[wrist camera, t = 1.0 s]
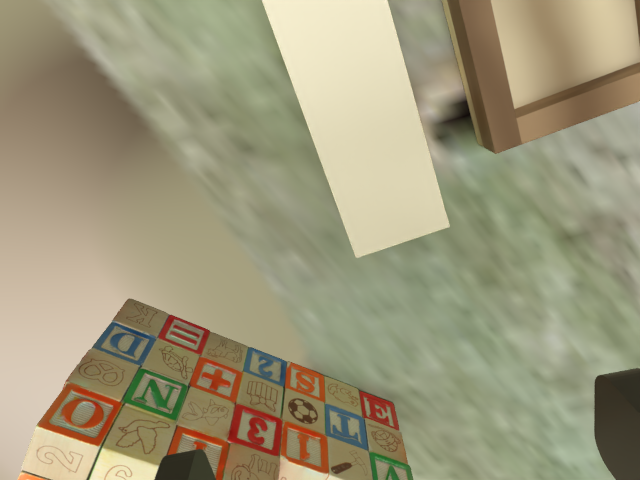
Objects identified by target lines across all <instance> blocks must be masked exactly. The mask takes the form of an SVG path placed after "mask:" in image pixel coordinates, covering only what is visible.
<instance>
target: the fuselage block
mask: <svg viewBox="0 0 640 480" xmlns="http://www.w3.org/2000/svg"><path fill="white" fill-rule="evenodd" d="M262 2H263V5H264V7H265V10H266V13H267V16H268V18H269V21H270V24H271V26H272V29H273V32H274V35H275V37H276V40H277V43H278V46H279V48H280V51H281V54H282V57H283V59H284V62H285V65H286V68H287V70H288V73H289V76H290V79H291V81H292V84H293V87H294V89H295V92H296V95H297V98H298V100H299V103H300V106H301V109H302V111H303V114H304V117H305V120H306V122H307V125H308V128H309V131H310V133H311V136H312V139H313V141H314V144H315V147H316V150H317V152H318V155H319V158H320V161H321V163H322V166H323V169H324V172H325V174H326V177H327V180H328V183H329V185H330V188H331V191H332V194H333V196H334V199H335V202H336V204H337V207H338V210H339V213H340V215H341V218H342V221H343V224H344V226H345V229H346V232H347V235H348V237H349V240H350V243H351V246H352V248H353V251H354V254H355V256H356V258H358V257H361V256H364V255H367V254H370V253H373V252H376V251H379V250H382V249H385V248H388V247H391V246H394V245H397V244H400V243H403V242H406V241H409V240H412V239H415V238H418V237H421V236H424V235H427V234H430V233H433V232H436V231H439V230H442V229H445V228H448V227H450V226H449V222H448V218H447V215H446V211H445V207H444V204H443V200H442V196H441V193H440V189H439V186H438V182H437V178H436V175H435V171H434V167H433V164H432V160H431V156H430V153H429V149H428V146H427V142H426V138H425V135H424V131H423V127H422V124H421V120H420V117H419V113H418V109H417V106H416V102H415V98H414V95H413V91H412V87H411V84H410V80H409V77H408V73H407V69H406V66H405V62H404V58H403V55H402V51H401V48H400V44H399V40H398V37H397V33H396V29H395V26H394V22H393V18H392V15H391V11H390V8H389V4H388V0H262Z"/></svg>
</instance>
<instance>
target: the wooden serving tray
mask: <svg viewBox="0 0 640 480" xmlns="http://www.w3.org/2000/svg"><path fill="white" fill-rule="evenodd" d="M442 3H443V7H444V11H445V15H446V19H447V23H448V27H449V31H450V35H451V39H452V43H453V47H454V51H455V55H456V59H457V63H458V67H459V71H460V74H461V78H462V82H463V86H464V90H465V94H466V98H467V102H468V106H469V110H470V114H471V118H472V122H473V126H474V130H475V134H476V138H477V142H478V144H479V145H481V146H483V147H485V148H486V149H488V150H490V151H492V152H493V153H495V154H497V153H499V152H502V151H505V150H507V149H510V148H513V147H516V146H518V145H521V144H524V143H527V142H529V141H532V140H535V139H537V138H540V137H543V136H546V135H548V134H551V133H554V132H557V131H559V130H562V129H565V128H568V127H570V126H573V125H576V124H578V123H581V122H584V121H587V120H589V119H592V118H595V117H598V116H600V115H603V114H606V113H608V112H611V111H614V110H617V109H619V108H622V107H625V106H628V105H630V104H633V103H636V102H639V101H640V0H442Z"/></svg>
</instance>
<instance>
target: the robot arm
mask: <svg viewBox="0 0 640 480" xmlns="http://www.w3.org/2000/svg"><path fill="white" fill-rule="evenodd" d="M594 432H595V440H596V444H597V447H598V450H599V453H600V455H601V457H602V459H603V461H604V463H605V465H606V466H607V468H608V469H609V471H610V472H611V474H612V475H613V476H614V478H615V479H616V480H640V369H639V368H636V369H630V370H625V371H620V372H614V373H609V374H604V375H599V376H597V377H596V380H595V426H594ZM154 480H216V478H215V475H214V473H213V470H212V468H211V465H210V463H209V460H208V458H207V456H206V453H205V452H204V451H203V450H202V449H197V450H191V451H186V452H181V453H175V454H170V455H166V456H164V457H163V458H162V460H161V462H160V465H159V468H158V470H157V473H156V476H155V479H154Z"/></svg>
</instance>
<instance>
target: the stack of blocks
mask: <svg viewBox="0 0 640 480" xmlns="http://www.w3.org/2000/svg"><path fill="white" fill-rule="evenodd" d="M197 449H202V450H203V451H204V452H205V453H206V456H207V458H208V460H209V463H210V465H211V468H212V470H213V473H214V475H215V478H216V480H413V476H412V472H411V468H410V466H409V465H408V462H407V457H406V452H405V448H404V444H403V439H402V435H401V432H400V431H399V425H398V420H397V416H396V411H395V407H394V404H393V403H391V402H389V401H386V400H383V399H381V398H378V397H375V396H373V395H370V394H368V393H364V392H362V391H358V389H357V388H355V387H352V386H350V385H347V384H345V383H342V382H340V381H337V380H335V379H332V378H329V377H326V376H323V375H321V374H319V373H317V372H314V371H312V370H309V369H307V368H305V367H302V366H300V365H297V364H294V363H292V362H286V361H284V360H282V359H280V358H277V357H274V356H272V355H269V354H267V353H264V352H262V351H259V350H256V349H254V348H251V347H247V346H245V345H243V344H241V343H238V342H236V341H233V340H230V339H228V338H225V337H223V336H220V335H218V334H216V333H212V332H210V331H209V330H208V329H205V328H203V327H201V326H198V325H196V324H193V323H190V322H188V321H185V320H183V319H180V318H178V317H175V316H173V315H169V314H167V313H166V312H164V311H161V310H159V309H156V308H154V307H151V306H149V305H146V304H144V303H141V302H139V301H136V300H134V299H128V300H127V301H126V302H125V304H124V305H123V307H122V308H121V309H120V311H119V312H118V313H117V315H116V316H115V317H114V319H113V321H112V323H111V324H110V325H109V326H108V327H107V329H106V330H105V331H104V332H103V334H102V335H101V336H100V338H99V339H98V340H97V342H96V343H95V344H94V346H93V347H92V349H90V350H89V351H88V352H87V353H86V355H85V356H84V357H83V358H82V360H81V361H80V363H79V364H78V365H77V366H76V368H75V369H74V371H73V372H72V373H71V375H70V376H69V377H68V379H67V380H66V382H65V384H64V387H63V390H62V392H61V393H60V394H59V396H58V397H57V398H56V400H55V401H54V402H53V404H52V405H51V406H50V408H49V409H48V410H47V412H46V413H45V415H44V416H43V417H42V419H41V420H40V421H39V423H38V424H37V426H36V428H35V430H34V434H33V437H32V439H31V442H30V445H29V448H28V451H27V453H26V456H25V459H24V461H23V464H22V467H21V469H22V471H21V473H20V475H19V477H18V480H154V479H155V476H156V473H157V470H158V468H159V465H160V462H161V460H162V458H163V457H164V456H166V455H170V454H175V453H181V452H186V451H191V450H197Z"/></svg>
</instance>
